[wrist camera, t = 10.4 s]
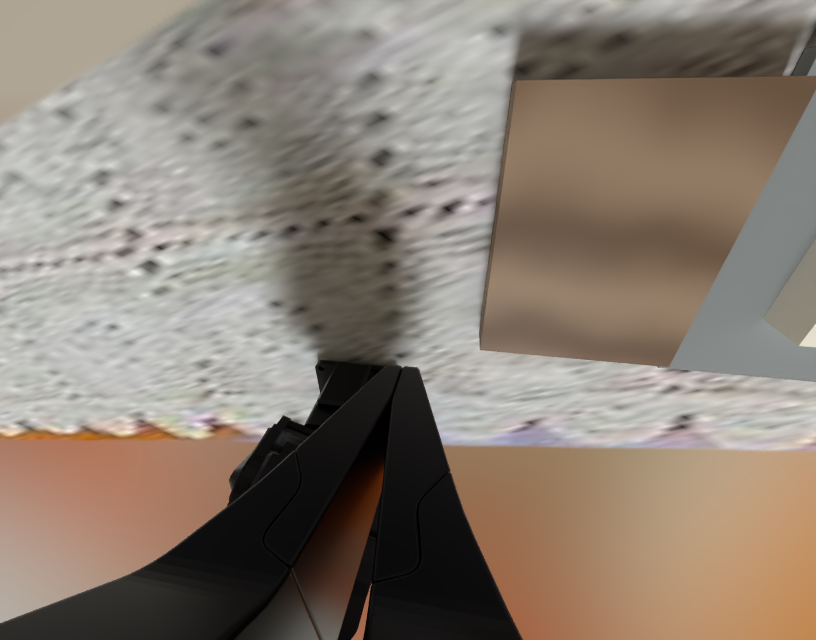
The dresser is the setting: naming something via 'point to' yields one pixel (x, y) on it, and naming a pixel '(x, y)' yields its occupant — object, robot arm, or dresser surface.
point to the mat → (762, 270)
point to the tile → (797, 303)
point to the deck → (625, 208)
